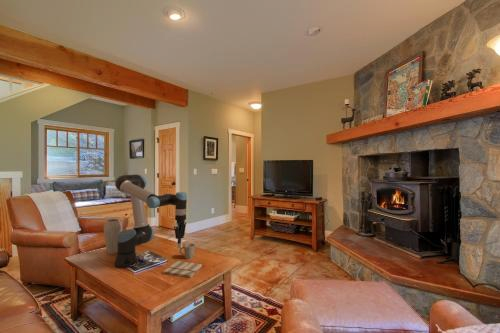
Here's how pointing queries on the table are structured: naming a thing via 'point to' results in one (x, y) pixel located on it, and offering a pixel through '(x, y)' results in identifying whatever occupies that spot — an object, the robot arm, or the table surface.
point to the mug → (188, 251)
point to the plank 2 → (192, 267)
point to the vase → (112, 235)
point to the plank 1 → (179, 265)
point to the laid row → (179, 272)
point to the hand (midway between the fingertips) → (179, 247)
